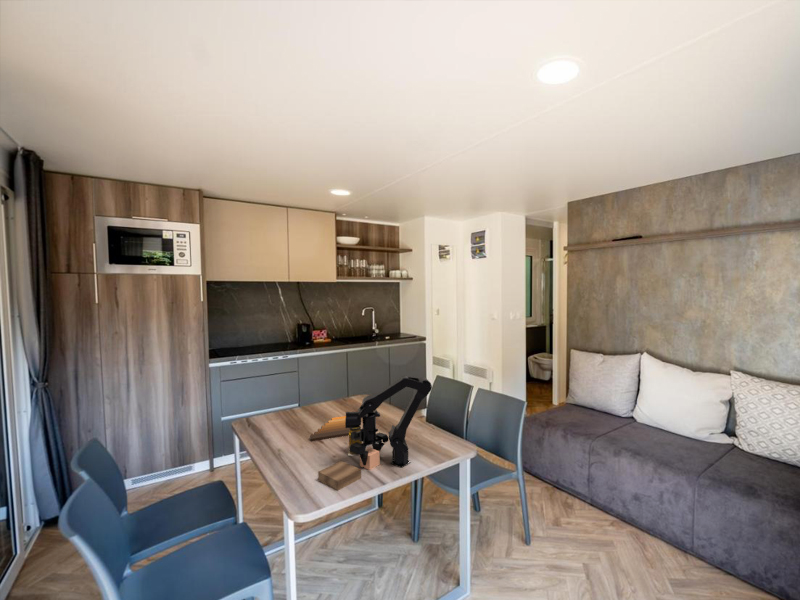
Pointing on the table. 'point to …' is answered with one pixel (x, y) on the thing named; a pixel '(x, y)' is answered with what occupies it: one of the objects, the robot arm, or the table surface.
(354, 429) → the condiment
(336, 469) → the walnut block
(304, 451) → the table surface
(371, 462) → the terracotta cube
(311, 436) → the pan flute
